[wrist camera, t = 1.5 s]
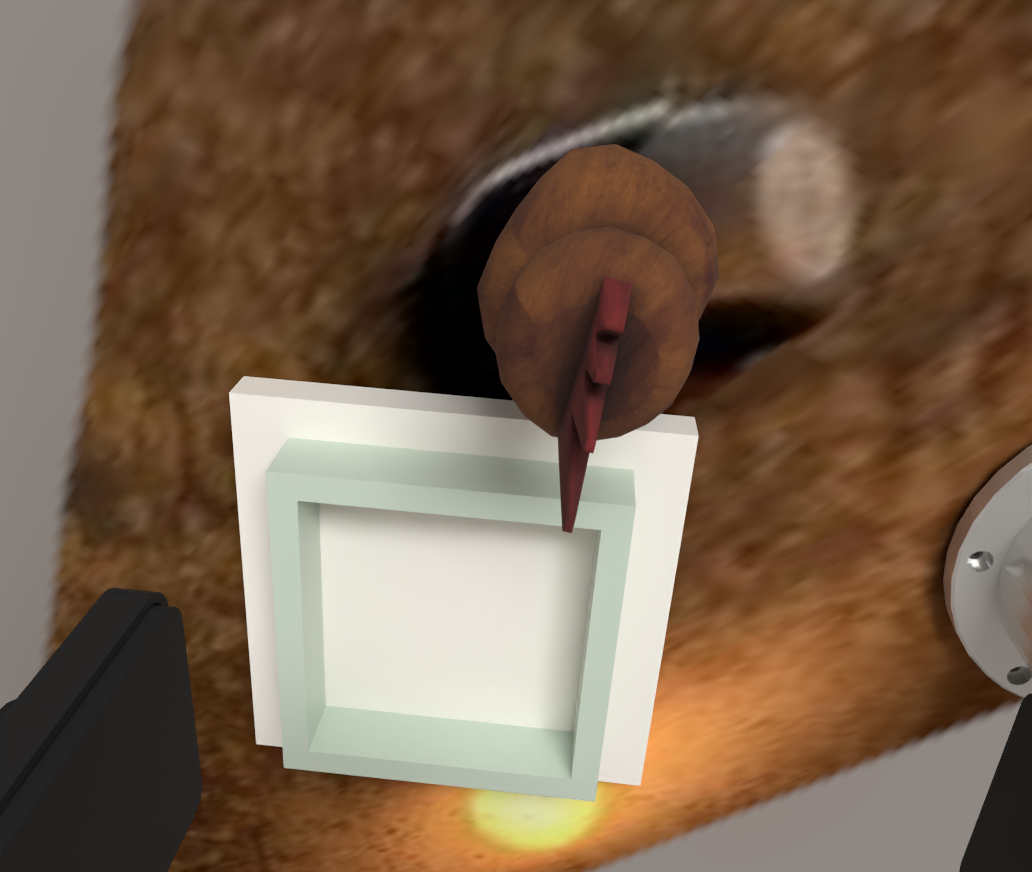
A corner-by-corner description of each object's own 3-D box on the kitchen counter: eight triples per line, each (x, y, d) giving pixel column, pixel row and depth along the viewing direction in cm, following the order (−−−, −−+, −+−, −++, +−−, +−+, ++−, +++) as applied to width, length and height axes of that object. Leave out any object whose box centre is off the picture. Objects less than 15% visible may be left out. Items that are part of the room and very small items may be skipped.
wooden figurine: (605, 365, 32) (608, 642, 19) (466, 268, 31) (364, 488, 18) (736, 204, 30) (849, 394, 16) (588, 91, 29) (579, 195, 15)
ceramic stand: (694, 417, 33) (706, 471, 29) (638, 758, 40) (643, 835, 36) (244, 376, 34) (201, 423, 30) (267, 718, 41) (235, 790, 37)
